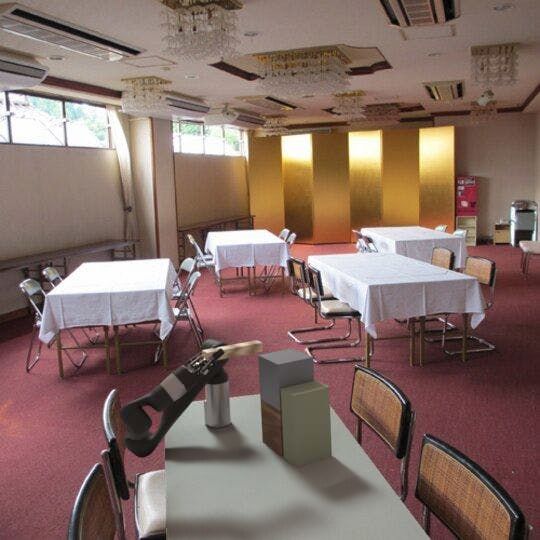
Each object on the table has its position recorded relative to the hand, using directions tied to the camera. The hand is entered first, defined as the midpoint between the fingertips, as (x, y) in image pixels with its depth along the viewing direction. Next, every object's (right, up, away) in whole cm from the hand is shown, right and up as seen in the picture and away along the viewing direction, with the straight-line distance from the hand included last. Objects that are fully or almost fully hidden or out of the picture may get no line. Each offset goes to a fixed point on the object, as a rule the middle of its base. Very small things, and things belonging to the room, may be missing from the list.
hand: (219, 349), depth 185 cm
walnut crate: (+23, -36, +17) cm, 46 cm away
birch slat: (+4, -2, +3) cm, 5 cm away
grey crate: (+22, -20, +15) cm, 34 cm away
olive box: (+29, -37, +6) cm, 47 cm away
